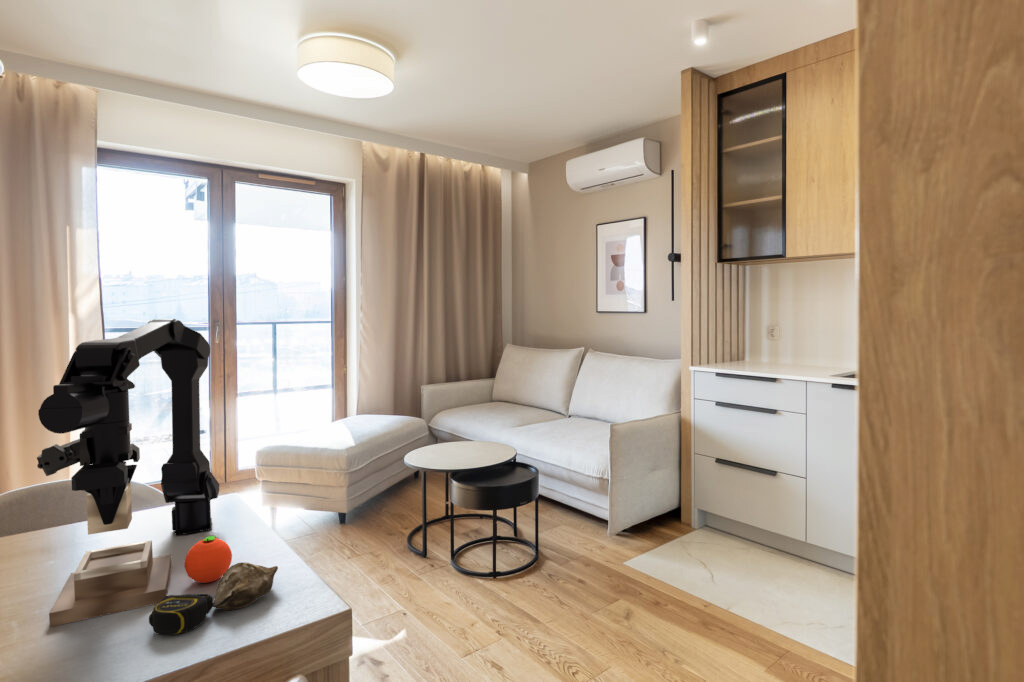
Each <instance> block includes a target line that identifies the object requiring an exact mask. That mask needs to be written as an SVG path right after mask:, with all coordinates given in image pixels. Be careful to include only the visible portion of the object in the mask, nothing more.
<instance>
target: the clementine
mask: <svg viewBox="0 0 1024 682" xmlns="http://www.w3.org/2000/svg"><path fill="white" fill-rule="evenodd" d="M232 559H233V553H232V550H231V548H230V546H229V544H228V543H226V541H224V540H222V539H220V538H217V536H216V535H211V536H210V535H209V536H206V537H204V538H203V539H201V540H199V541H197V542H196V543H195V544H194V545H193V546H191V547H190V549H189V550H188V551H187V554H186V556H185V558H184V564H183V566H184V570H185V572H186V574H187V576H188V577H189V578H190V579H191V580H193V581H195V582H197V583H201V584H203V583H204V584H205V583H212V582H214V581H217V580H220V579H221V578H222V576H223V574H224V573H225V572H226V571H227V570H228V569H229V568H230V567H231V563H232Z"/></svg>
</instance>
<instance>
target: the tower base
mask: <svg viewBox="0 0 1024 682" xmlns="http://www.w3.org/2000/svg"><path fill="white" fill-rule="evenodd" d="M153 555H154V553H153V540H152V539H151V540H146V541H141V542H134V543H128V544H121V545H116V546H110V547H104V548H100V549H92V550H88V551H85V553H84V554H83V555H82V558H81V560H80V562H79V563H78V565H77V566H76V569H75V571H74V572H70V574H69V576H68V578H67V580H66V581H65V583H64V585H63V587H62V589H61V591H60V593H59V595H58V596H57V598H56V600H55V602H54V603H53V605H52V607H51V608H50V611H49V613H48V615H49V617H48V618H49V619H48V621H49V628H51V627H56V626H62V625H66V624H70V623H74V622H79V621H83V620H89V619H93V618H97V617H102V616H106V615H111V614H116V613H121V612H124V611H130V610H134V609H137V608H139V609H140V608H143V607H144V608H145V607H148V606H151V605H156V604H158V603H159V602H161V601H162V599H163V598H164V597H165V596H168V591H169V586H170V585H169V584H170V578H171V574H172V573H171V572H172V554H166V555H162V556H156V557H154V556H153Z"/></svg>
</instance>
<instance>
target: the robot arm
mask: <svg viewBox="0 0 1024 682" xmlns="http://www.w3.org/2000/svg"><path fill="white" fill-rule="evenodd" d="M152 352H153V353H154V354H155V355H157V356H158V357H159V358H160V364H161V369H162V370H163V372H164V373H165V375H166V376H167V377H168V378H169V379H170V382H171V427H172V428H171V429H172V431H171V432H172V436H171V437H172V442H171V443H172V454H171V455H170V457H169V458H168V460H167V461H166V463H163V464H162V466H161V480H160V481H161V482H160V486H161V487H160V488H161V490H162V494H163V498H164V501H165V503H166V504H169V503H174V506H173V507H172V508H171V528H172V531H174V536H182V535H188V534H194V533H199V532H206V531H210V530H212V529H213V522H212V514H211V513H212V511H211V501H212V500H216V499H218V498H219V493H220V492H219V491H220V482H218V480H217V479H216V478H215V476H214V475H213V473H212V471H211V464H210V461H209V459H208V458H207V456H206V455H205V454H204V452H203V451H202V450H201V419H200V418H201V414H200V413H201V412H200V409H201V408H200V379H201V377H202V376H203V374H204V373H205V371H206V370H207V368H208V366H209V357H210V355H211V346H210V344H209V341H208V340H207V339H206V338H205V337H204V336H203V335H202V333H200V332H199V331H196V330H194V329H192V328H189V327H188V326H186V325H185V324H184V323H183V322H182V321H181V320H179V319H176V318H153V319H152V320H149V321H148V322H147V323H146V324H143V325H141V326H139V327H137V328H135V329H133V330H131V331H128V332H126V333H124V334H122V335H120V336H117V337H115V338H108V339H106V338H105V339H96V340H89V341H84V342H81V343H79V344H78V345H77V346H76V347H75V351H74V352H73V354H72V356H71V357H70V361H69V362H68V364H67V367H66V369H65V370H64V373H63V375H62V377H61V379H60V381H59V383H58V384H55V385H53V386H52V387H53V389H52V391H53V393H52V394H50V395H49V396H47V397H46V398H45V399H44V400H43V401H42V402H41V405H40V407H39V409H38V411H37V412H38V418H39V421H40V423H41V425H42V426H43V427H44V428H45V429H46V430H48V432H51V433H54V434H67V433H71V432H74V431H77V430H81V429H84V430H82V431H81V432H80V433H79V438H78V439H75V440H72V441H70V442H68V443H67V442H66V443H65V444H62V445H59V444H57V443H55V444H54V445H52V446H49V447H45V448H44V449H42V450H41V453H40V454H39V455H38V456H37V457H36V460H37V469H41V470H42V471H43V473H44V475H45V476H46V477H49V476H52V475H54V474H57V473H58V471H61V470H63V469H66V468H69V467H70V466H74V465H76V464H78V463H79V467H81V468H80V469H79V470H78V471H76V473H74V474H73V475H72V476H71V478H70V479H71V491H74V492H77V491H84V492H86V493H87V494H88V493H90V494H91V495H92V496H93V498H94V500H95V503H96V505H97V508H98V511H99V513H100V516H101V519H102V521H103V524H104V525H107V524H112V523H113V520H114V518H115V515H116V513H117V510H118V507H119V505H120V502H121V499H122V497H123V494H124V491H125V489H126V486H127V484H128V483H131V481H132V479H133V476H134V474H135V471H136V469H137V467H138V465H137V464H127V462H128V461H129V460H133V462H134V463H138V462H139V461H140V459H141V457H140V455H141V454H140V451H141V450H140V447H139V446H137V445H136V444H134V443H131V430H133V425H132V423H131V422H130V403H129V402H130V401H129V390H133V389H135V387H136V386H135V383H134V382H133V381H131V380H130V379H129V376H131V375H132V374H133V373H134V372H135V371H136V370H137V369H138V368H139V367H140V365H141V364H140V360H141V358H143V357H145V356H147V355H148V354H150V353H152Z"/></svg>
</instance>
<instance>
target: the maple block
mask: <svg viewBox="0 0 1024 682" xmlns="http://www.w3.org/2000/svg"><path fill="white" fill-rule="evenodd" d="M131 484H132V483H131V482H130V483H128V484H127V486H126V489H125V491H124V494H123V497H122V499H121V502H120V505H119V507H118V510H117V513H116V515H115V518H114V520H113V523H112V524H107V525H104V524H103V521H102V519H101V516H100V513H99V511H98V508H97V505H96V503H95V500H94V498H93V496H92V495H91V494H90V493H88V492H87V494H86V497H85V498H86V516H87V517H86V518H87V519H86V520H87V535H95V534H101V533H107V532H108V533H109V532H114V531H121V530H126V529H128V528H129V526H130V524H131V522H132V520H133V509H132V507H133V506H132V485H131Z"/></svg>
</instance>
